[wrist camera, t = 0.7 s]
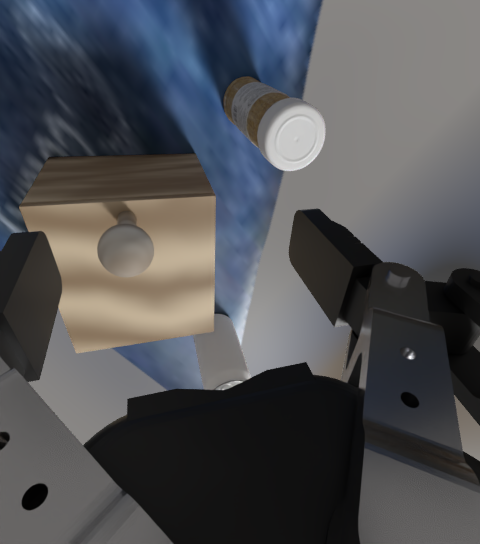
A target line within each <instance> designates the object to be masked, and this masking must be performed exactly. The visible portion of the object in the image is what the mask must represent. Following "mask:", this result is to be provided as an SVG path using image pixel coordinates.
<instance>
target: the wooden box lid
mask: <svg viewBox="0 0 480 544" xmlns="http://www.w3.org/2000/svg"><path fill="white" fill-rule="evenodd" d="M215 207H216V196H215V194H214V193H203V194H185V195H166V196H147V197H129V198H110V199H92V200H73V201H55V202H36V203H21V204H20V206H19V209H20V211H21V214H22V216H23V219H24V221H25V224H26V226H27V229H28V231H29V232H34V231H43V232H44V233H45V235H46V237H47V239H48V241H49V244H50V247H51V250H52V253H53V255H54V258H55V261H56V264H57V266H58V269H59V272H60V275H61V280H62V294H61V298H60V302H59V306H58V308H59V310H60V313H61V315H62V318H63V320H64V323H65V326H66V328H67V331H68V333H69V336H70V338H71V341H72V343H73V346H74V349H75V351H76V353H82V352H88V351H94V350H101V349H106V348H113V347H120V346H126V345H132V344H139V343H145V342H151V341H158V340H164V339H170V338H177V337H183V336H189V335H196V334H202V333H208V332H214V288H215Z"/></svg>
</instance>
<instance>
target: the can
mask: <svg viewBox="0 0 480 544" xmlns="http://www.w3.org/2000/svg"><path fill="white" fill-rule="evenodd" d="M193 337H194V342H195V347H196V352H197V358H198V363H199V368H200V373H201V377H202V382H203V387H204V390H225V389H229V388H231V387H233V386H235V385H237V384H239V383H241V382H243V381H245V380H248V379H250V378H251V376H250V373H249V370H248V366H247V363H246V360H245V357H244V354H243V351H242V348H241V345H240V342H239V339H238V336H237V334H236V331H235V328H234V325H233V322H232V320H231V319H230V318H229V317H228V316H226V315H223V314H214V332H208V333H202V334H196V335H193Z"/></svg>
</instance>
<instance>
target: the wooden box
mask: <svg viewBox="0 0 480 544" xmlns="http://www.w3.org/2000/svg"><path fill="white" fill-rule="evenodd" d="M203 193H214V191H213V189H212V187H211V185H210V183H209V181H208V179H207V177H206V175H205V172H204V170H203V168H202V166H201V164H200V162H199V160H198V158H197V156H196V154H155V155H113V156H71V157H49V158H48V159H47V161H46V163H45V164H44V166H43V168H42V169H41V171H40V173H39V174H38V176H37V178H36V179H35V181H34V183H33V184H32V186H31V188H30V189H29V191H28V193H27V194H26V196H25V198H24V199H23V201H22V203H36V202H55V201H73V200H92V199H110V198H129V197H147V196H166V195H185V194H203Z"/></svg>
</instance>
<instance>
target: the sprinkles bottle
mask: <svg viewBox="0 0 480 544" xmlns="http://www.w3.org/2000/svg"><path fill="white" fill-rule="evenodd" d="M223 102H224V111H225V114H226V115H227V117H228V119H229V120H230V121H231V122H232V123H233V124H235V125H236V126H237V128H238V129H239V130H240V131H241V132H242V133H243V134H244V135H245V136H246V137H247V138H248V139H249V140H250V141H251V142H252V143H253V144H254V145H255V146H257V147H258V148H259V149H260V151H261V153H262V154H263V156H264V157H265V158H266V159H267V160H268V161H269V162H270V163H271V164H272V165H274V166H275V167H277V168H278V169H281V170H284V171H294V170H299V169H301V168H303V167H305V166H307V165H308V164H310V163H311V162H312V161H313V160H314V159H315V158H316V156H317V155H318V153H319V152H320V150H321V148H322V146H323V143H324V139H325V131H326V130H325V122H324V119H323V117H322V115H321V113H320V112H319V111H318V110H317V109H316V108H315V107H314V106H312V105H311V104H309V103H307V102H305V101H303V100H301V99H297V98H290V97H288V96H287V95H286V94H284V93H282V92H280V91H278V90H276V89H274V88H272V87H270V86H268V85H266V84H263V83H260V82H259V81H258V80H256V79H254V78H252V77H249V76H247V77H240V78H237V79H236V80H234V81H233V82H232V83H231V84H230V85H229V86H228V88H227V90H226V92H225V95H224V100H223Z"/></svg>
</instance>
